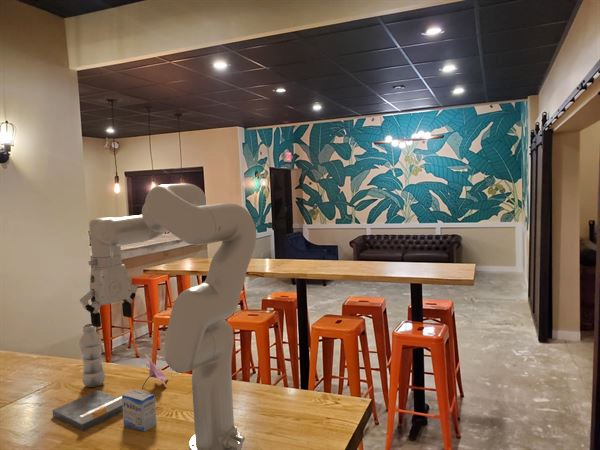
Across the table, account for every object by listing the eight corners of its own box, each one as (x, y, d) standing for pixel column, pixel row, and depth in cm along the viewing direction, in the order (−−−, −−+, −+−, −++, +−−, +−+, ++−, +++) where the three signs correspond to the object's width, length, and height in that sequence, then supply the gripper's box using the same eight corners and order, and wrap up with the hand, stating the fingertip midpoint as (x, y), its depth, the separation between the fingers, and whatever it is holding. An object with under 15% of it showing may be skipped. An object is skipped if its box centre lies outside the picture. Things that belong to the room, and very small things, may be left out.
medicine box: (123, 426, 125) (120, 395, 124) (136, 418, 129) (133, 388, 128) (144, 432, 121) (142, 401, 120) (157, 424, 125) (155, 393, 124)
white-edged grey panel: (129, 409, 134) (128, 395, 134) (83, 432, 122) (82, 417, 122) (98, 396, 143) (97, 383, 142) (53, 416, 131) (51, 403, 131)
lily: (154, 400, 141) (168, 370, 142) (121, 383, 143) (136, 354, 144) (169, 394, 153) (182, 367, 154) (138, 379, 155) (151, 352, 156)
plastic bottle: (97, 390, 147) (92, 329, 145) (78, 389, 148) (73, 328, 146) (109, 381, 153) (104, 322, 151) (91, 380, 154) (86, 321, 152)
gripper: (85, 268, 120) (91, 332, 122) (142, 257, 135) (146, 315, 136) (70, 266, 125) (75, 328, 126) (126, 256, 139) (130, 311, 140)
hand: (112, 321), depth 131 cm, fingers open, 9 cm apart
